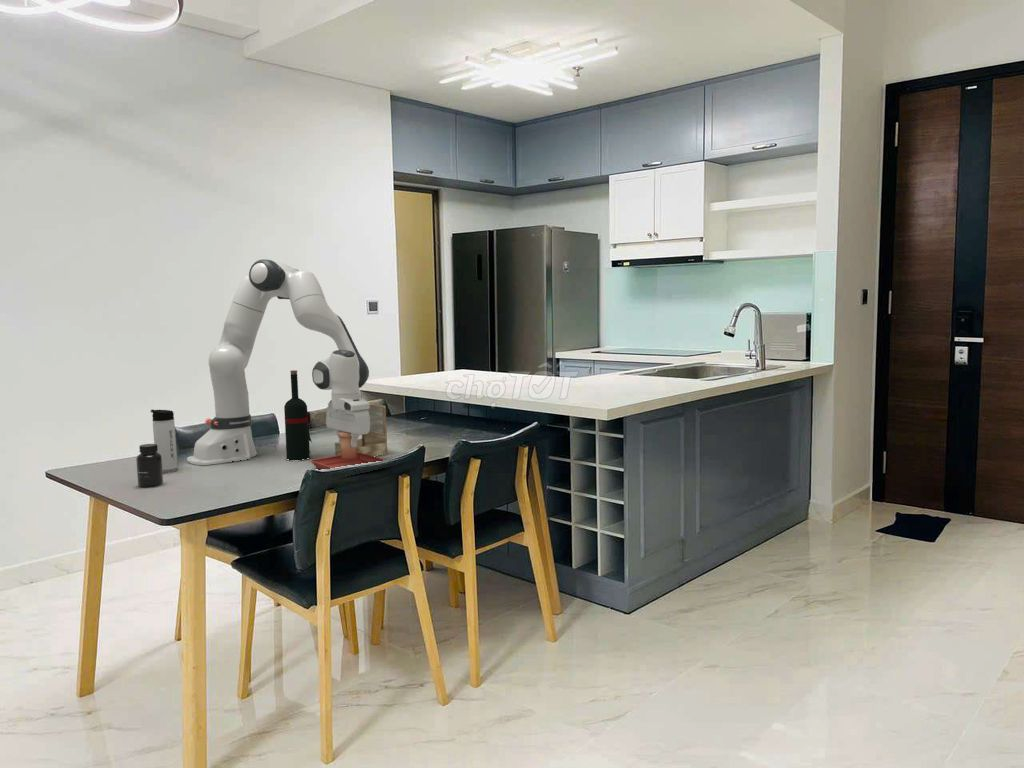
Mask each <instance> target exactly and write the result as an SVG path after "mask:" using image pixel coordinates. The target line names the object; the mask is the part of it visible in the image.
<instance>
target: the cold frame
mask: <svg viewBox="0 0 1024 768" xmlns="http://www.w3.org/2000/svg"><path fill="white" fill-rule="evenodd" d="M369 404H370V408H369V409H366V410H368V412H369V416H370V430H369V433H368V434H364V435H361V438H358V440H357V446H356V453H363V454H367V455H370V456H377V455H382V456H384V455H383V454H387V455H388V437H387V436H388V435H387V433H388V432H387V410H386V409H387V408H386V405H381V404H380V405H379V404H374V403H369ZM336 454H337V455H336ZM334 455H336V456H340V455H341V444H339V441H338V442H334ZM377 457H378V456H377Z"/></svg>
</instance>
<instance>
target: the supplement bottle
mask: <svg viewBox="0 0 1024 768" xmlns="http://www.w3.org/2000/svg"><path fill="white" fill-rule="evenodd" d="M157 451H158V449H157V444H154V443H144V444H140V445H139V453H140V454H138V455H137V456H136V475H137V476H136V477H137V485H138V487H140V488H155V487H158V486H162V484H163V483H164V476H163V475H164V473H163V470H162V456H161V454H159V453H157Z"/></svg>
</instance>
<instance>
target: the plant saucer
mask: <svg viewBox="0 0 1024 768" xmlns="http://www.w3.org/2000/svg"><path fill="white" fill-rule="evenodd" d="M356 455H357V456H356V457H354V458H341V455H335V456H329V457H321V458H316V459H310V463H312V465H313V466H314V467H315V468H316V469H318V470H319V469H330V468H335V467H341V466H347V465H355V464H361V463H368V462H376V461H383V460H385V459H384V458H380V457H378V456H377V457H374V456H370V455H367V454H363V453H356Z"/></svg>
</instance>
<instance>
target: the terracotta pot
mask: <svg viewBox="0 0 1024 768" xmlns="http://www.w3.org/2000/svg"><path fill="white" fill-rule="evenodd" d="M338 436H339V437H340V444H341V458H354V457H356V456H357V455H356V447H350V442H349V441H351V438H352V436H351V433H348V432H343V431H339V432H338ZM338 436H337V437H338Z"/></svg>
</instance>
